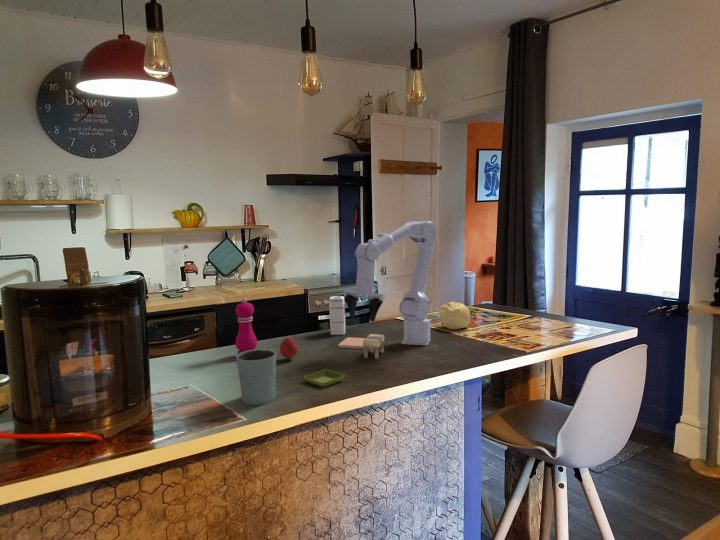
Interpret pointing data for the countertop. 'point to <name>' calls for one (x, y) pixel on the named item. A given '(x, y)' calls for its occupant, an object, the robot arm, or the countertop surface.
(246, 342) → the pepper mill
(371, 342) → the stool
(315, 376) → the saucer
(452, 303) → the pale yellow round lump
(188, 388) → the countertop surface
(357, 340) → the board
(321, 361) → the countertop surface
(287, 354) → the pomegranate
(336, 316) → the syrup box
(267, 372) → the grey cup
